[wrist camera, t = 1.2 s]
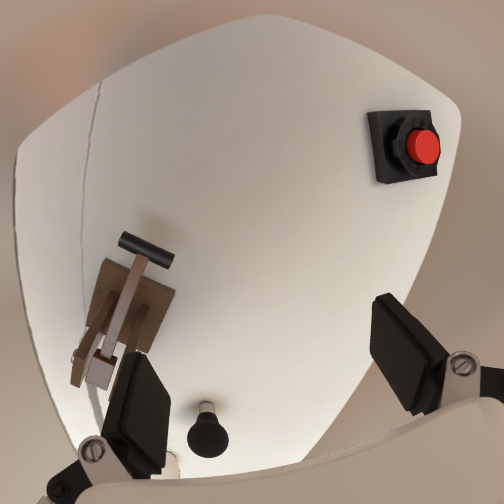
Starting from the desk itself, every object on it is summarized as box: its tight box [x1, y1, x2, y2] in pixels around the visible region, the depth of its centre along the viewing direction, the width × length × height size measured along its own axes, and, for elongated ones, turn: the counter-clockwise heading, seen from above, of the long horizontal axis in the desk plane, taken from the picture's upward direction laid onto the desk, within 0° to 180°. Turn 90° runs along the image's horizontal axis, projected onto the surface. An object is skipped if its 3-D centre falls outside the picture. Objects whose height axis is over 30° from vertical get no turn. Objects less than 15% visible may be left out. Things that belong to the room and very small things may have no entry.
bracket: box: [70, 259, 175, 402], centre depth 26 cm, size 10×9×13 cm
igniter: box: [367, 110, 441, 184], centre depth 27 cm, size 8×8×4 cm
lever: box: [85, 231, 175, 391], centre depth 23 cm, size 14×5×2 cm, turn 151°
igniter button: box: [406, 130, 439, 164], centre depth 24 cm, size 4×4×2 cm
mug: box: [151, 452, 180, 479], centre depth 42 cm, size 12×8×8 cm
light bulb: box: [187, 403, 229, 458], centre depth 35 cm, size 6×6×10 cm
